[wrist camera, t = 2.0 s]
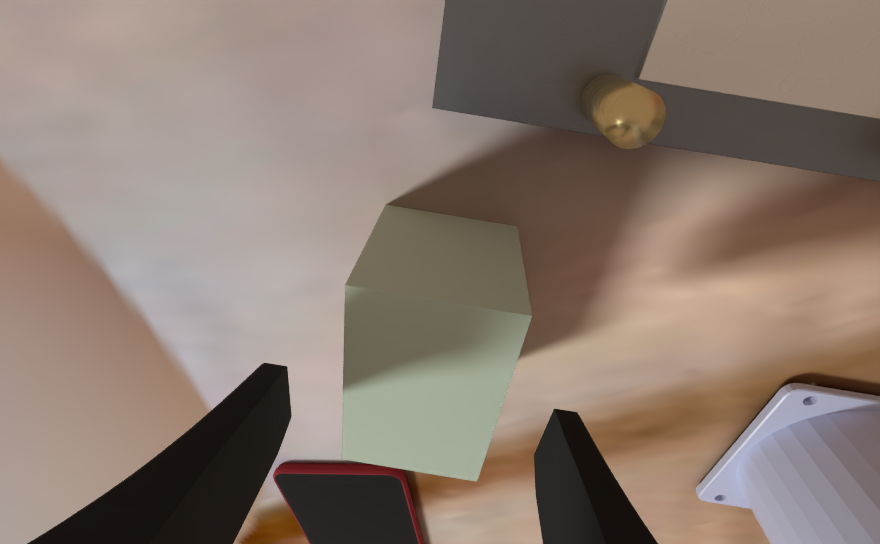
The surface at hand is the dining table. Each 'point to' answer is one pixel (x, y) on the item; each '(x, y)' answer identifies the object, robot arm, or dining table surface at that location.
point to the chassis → (677, 74)
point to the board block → (431, 341)
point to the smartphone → (349, 503)
